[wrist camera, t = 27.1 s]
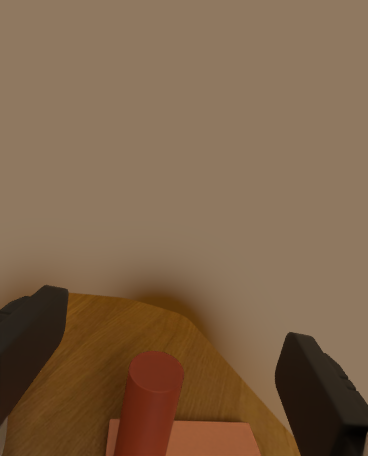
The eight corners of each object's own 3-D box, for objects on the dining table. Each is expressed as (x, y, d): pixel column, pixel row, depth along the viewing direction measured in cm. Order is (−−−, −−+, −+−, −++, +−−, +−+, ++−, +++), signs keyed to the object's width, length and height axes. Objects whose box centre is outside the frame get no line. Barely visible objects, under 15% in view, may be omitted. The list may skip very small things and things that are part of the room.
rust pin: (159, 444, 29) (180, 352, 26) (162, 498, 24) (188, 393, 22) (113, 444, 28) (130, 348, 25) (107, 499, 23) (127, 390, 21)
